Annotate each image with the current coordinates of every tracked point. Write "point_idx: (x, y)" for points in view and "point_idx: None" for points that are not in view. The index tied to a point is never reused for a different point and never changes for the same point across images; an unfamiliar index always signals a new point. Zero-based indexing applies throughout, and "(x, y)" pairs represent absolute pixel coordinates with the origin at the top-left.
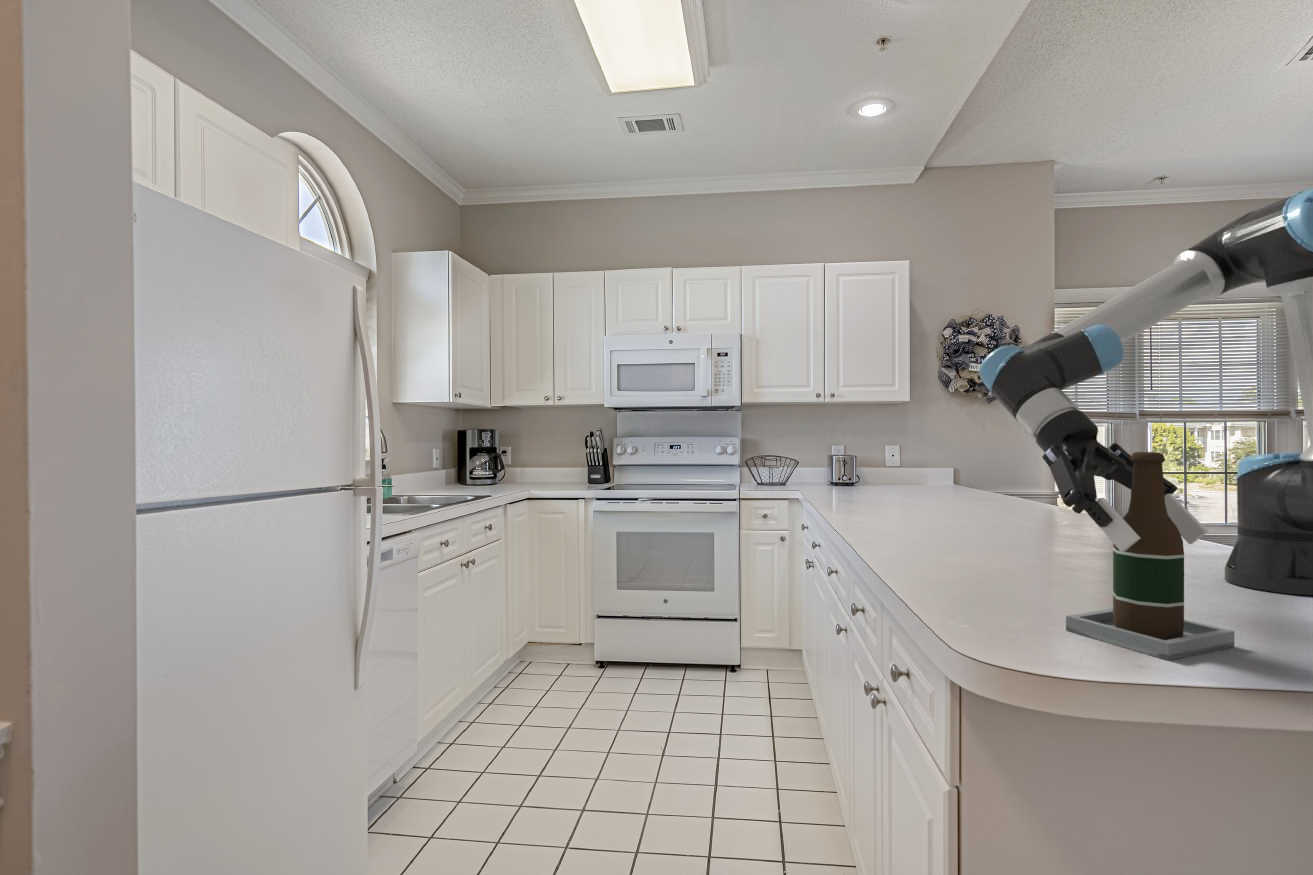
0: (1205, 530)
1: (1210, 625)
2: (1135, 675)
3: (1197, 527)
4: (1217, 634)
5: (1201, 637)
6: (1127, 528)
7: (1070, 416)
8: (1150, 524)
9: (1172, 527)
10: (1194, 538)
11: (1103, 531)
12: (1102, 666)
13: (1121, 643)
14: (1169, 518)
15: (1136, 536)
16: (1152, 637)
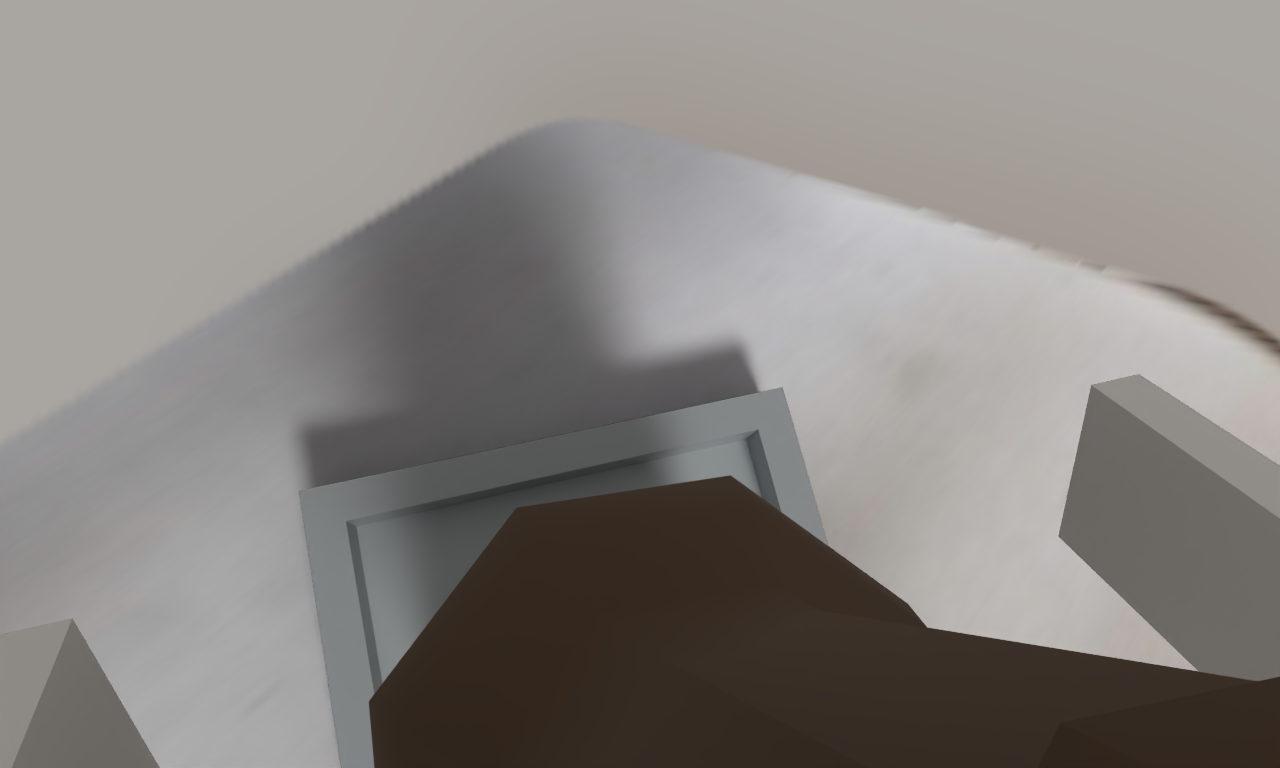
0: (32, 641)
1: (315, 596)
2: (998, 302)
3: (54, 710)
4: (436, 462)
5: (558, 436)
6: (1231, 435)
7: None
8: (847, 585)
9: (614, 524)
10: (126, 725)
11: None
12: (1050, 397)
13: None
14: (597, 583)
15: (1134, 390)
16: (776, 474)
